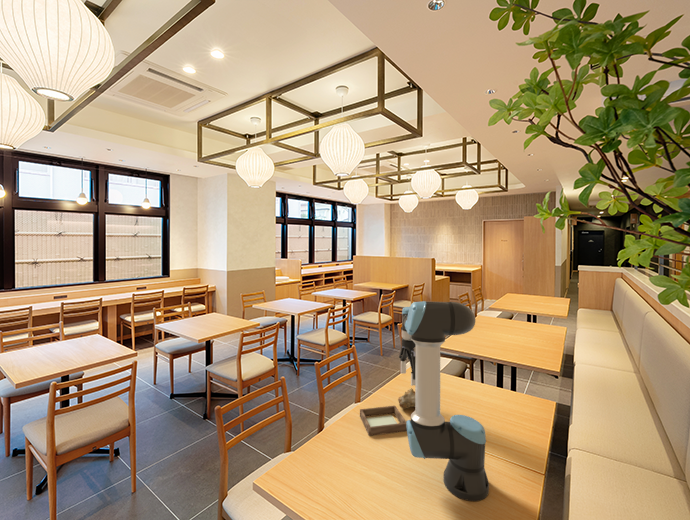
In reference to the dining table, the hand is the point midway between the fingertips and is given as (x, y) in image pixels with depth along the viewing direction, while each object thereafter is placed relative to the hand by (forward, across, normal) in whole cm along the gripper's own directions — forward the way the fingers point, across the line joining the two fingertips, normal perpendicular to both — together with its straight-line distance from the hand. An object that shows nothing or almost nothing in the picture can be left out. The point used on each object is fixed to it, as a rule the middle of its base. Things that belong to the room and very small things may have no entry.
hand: (408, 379), depth 169 cm
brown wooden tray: (+15, -11, +17) cm, 25 cm away
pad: (+15, -11, +17) cm, 25 cm away
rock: (+15, 0, 0) cm, 15 cm away
